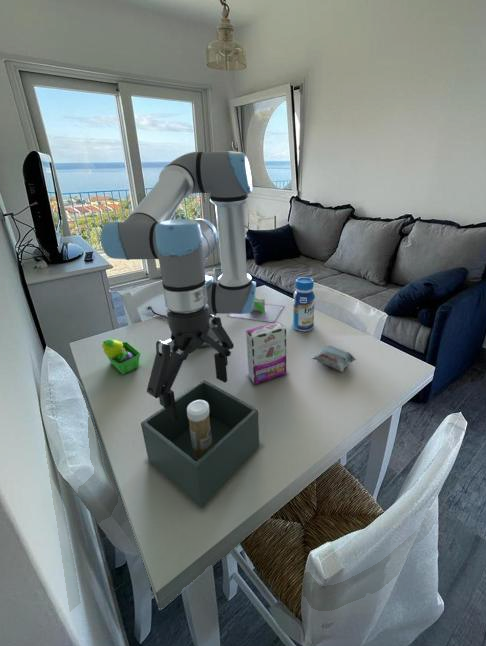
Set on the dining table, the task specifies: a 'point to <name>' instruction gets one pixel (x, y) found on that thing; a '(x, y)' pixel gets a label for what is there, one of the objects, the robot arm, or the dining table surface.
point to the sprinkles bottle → (199, 428)
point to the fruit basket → (121, 355)
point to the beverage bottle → (303, 305)
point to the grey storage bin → (227, 441)
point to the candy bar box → (266, 352)
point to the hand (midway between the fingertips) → (198, 396)
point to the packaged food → (334, 357)
